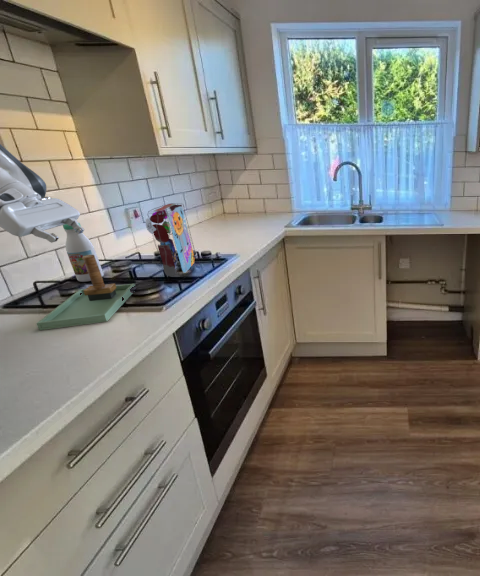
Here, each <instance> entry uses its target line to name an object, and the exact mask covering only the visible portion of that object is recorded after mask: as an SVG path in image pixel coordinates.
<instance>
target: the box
mask: <svg viewBox="0 0 480 576" xmlns="http://www.w3.org/2000/svg"><path fill="white" fill-rule="evenodd" d="M184 208H185V206H184V204H183V203H182V202H181V203H180V202H176V203H175V202H173V203H172V202H171V203H166V204H163V205H160V206H158V207H154V208H152V209H150V210H148V212H147V214H146V215H147V218H146V219H145V228H146V230H147V231H148V233H149V234H151V235H152V239H153V242H154V245H155V248H156V251H157V253H158V258H159V262H160V263H161V264H160V265H161V269H162V271H163V275H164V276H165V277H166V278H167V281H170V278H172V277H175V276H176V275H177V273H178V274H179V271H181V274H182V275H184V274H185V273H187V274H186V276H185V277H184V278H182V279H178V280H176V282H179V281H182V280H184V279H186V277H187V276H189V275H190V274H191V272H192V271H194V270H195V269H196V268H197V266H194V264H195V263H196V264H197V260H198V259H197V257H195V255H197V253H196V251H195V246H194V241H193V239H192V235H191V233H189V232H191V231H190V229H188V228H190V226H189V221H188V217H187V215H186V214H185V213H186V210H185V209H184ZM167 210H168V211H167ZM152 211H153V212H152ZM149 215H151V216H149ZM166 220H167V221H166ZM170 234H171V235H172V238H173V239H171V236H170ZM156 241H157V242H158V243H159V244H157V243H156ZM178 261H179V265H178ZM177 265H178V266H177ZM193 266H194V267H193ZM179 267H180V269H178V268H179ZM191 267H193V268H192V269H191ZM190 269H191V270H190Z"/></svg>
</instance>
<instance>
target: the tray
mask: <svg viewBox="0 0 480 576" xmlns="http://www.w3.org/2000/svg"><path fill="white" fill-rule="evenodd" d="M134 286H136V283H126V284H117V285H116V289H115V291H116V295H115V296H114V297H113V298H112V299H104V300H94V301H89V298H88V295H85V294H84V290H85V289H86V288H82V289H81V288H80V289H78V291H76V292H74V294H72V295H71V296H69V297H68V298H66V299H65V300H64V301H63V302H62V303H60V304H59V305H58V306H56V307H55V308H54V309H53V310H51V311H50V312H49V313H48V314H46V315H45V316H43V318H41V319H40V320H38V321H37V322H36V326H37V328H38V331H44V330H45V331H46V330H53V329H60V328H68V327H74V326H83V325H84V326H85V325H91V324H98V323H106V322H108V321H109V320H110V319H111V318H112V317H113V316H114V315H115V314H116V312H118V310H119V309H120V308H121V307H122V306H123V305H124V304H125V303H126V301H127V300H129V299H130V297H131V296H132V295H133V294H134V293H131V292H130V289H131V288H132V287H134ZM80 293H82V294H81V295H80ZM122 297H123V298H124V300H123V301H122Z"/></svg>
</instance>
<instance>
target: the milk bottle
mask: <svg viewBox="0 0 480 576" xmlns="http://www.w3.org/2000/svg"><path fill="white" fill-rule="evenodd" d="M78 224H79V226H81V227H82V225H81V223H80V222H78ZM62 227H63V230H64V232H65V233H66V240H65V251H66V254H67V257H68V260H69V262H70V265H71V267H72V271H73V273H74V276H75V278H76V280H77V282H82V283H86V282H91V279H90V276H89V273H88V271H87V268H86V265H85V263H84V260H83V256H86V255H94V256H95V259H96V262H97V264H98V267H99V270H100V273H101V276H102V278H103V277H104V271H103V269H102V266H101V263H100V259H99V257H98V254H97V251H96V248H95V246H94V244H93V243H92V241H91V239H89V238H88V237H87V236H86V235H85V233H84V232H83V233H80V234H77V233H76V232H74V231H73V227H72V226H69V225H67V224H65V225H62Z"/></svg>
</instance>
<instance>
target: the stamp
mask: <svg viewBox="0 0 480 576" xmlns="http://www.w3.org/2000/svg"><path fill="white" fill-rule="evenodd" d="M83 260H84V263H85V265H86V268H87V271H88V273H89V276H90V279H91V281H90V283H91V284H92V285H89V286H88V287H86V288H84V289H85V290H84V294H85V295H88V298H89V301H94V300H104V299H112V298H113V297H114V296H115V295H116V291H115V289H116V286H117V285H116V283H106V284H105V281H104V278H103V277H102V276H101V273H100V270H99V267H98V264H97V262H96V259H95V256H94V255H86V256H83Z"/></svg>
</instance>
